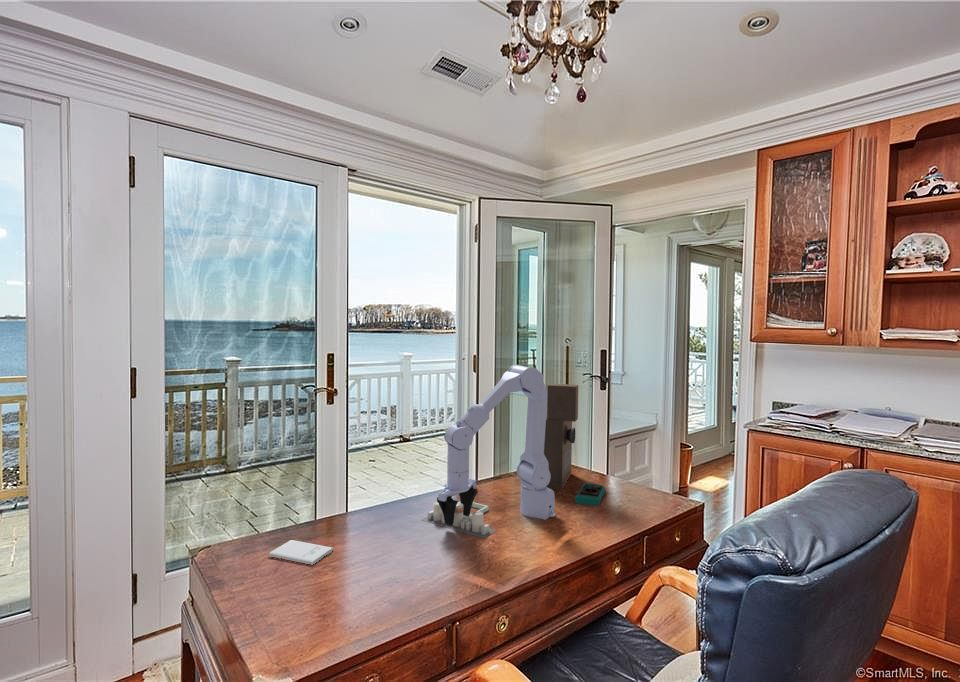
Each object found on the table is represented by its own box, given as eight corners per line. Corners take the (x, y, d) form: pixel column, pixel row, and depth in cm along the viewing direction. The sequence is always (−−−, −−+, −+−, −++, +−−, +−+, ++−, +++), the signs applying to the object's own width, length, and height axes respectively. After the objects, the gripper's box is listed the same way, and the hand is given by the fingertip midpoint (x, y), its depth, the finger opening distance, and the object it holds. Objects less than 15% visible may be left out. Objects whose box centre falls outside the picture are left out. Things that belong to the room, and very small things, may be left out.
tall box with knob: (573, 491, 170) (575, 386, 169) (532, 486, 175) (533, 384, 174) (582, 475, 188) (583, 380, 187) (544, 470, 193) (545, 378, 192)
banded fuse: (465, 524, 139) (465, 504, 138) (458, 528, 136) (459, 507, 136) (456, 521, 140) (456, 502, 140) (449, 525, 138) (449, 505, 137)
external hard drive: (291, 545, 129) (333, 553, 125) (268, 559, 121) (312, 568, 117) (291, 539, 129) (333, 546, 125) (268, 552, 121) (312, 561, 117)
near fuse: (485, 530, 135) (485, 513, 135) (479, 533, 132) (479, 516, 132) (475, 527, 137) (476, 510, 137) (469, 531, 134) (469, 514, 134)
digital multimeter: (605, 493, 170) (605, 484, 170) (598, 508, 156) (598, 498, 156) (583, 490, 173) (583, 481, 173) (574, 504, 159) (574, 495, 159)
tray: (488, 514, 149) (488, 506, 149) (471, 524, 142) (471, 515, 142) (463, 507, 154) (463, 499, 154) (445, 517, 147) (445, 508, 147)
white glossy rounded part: (446, 519, 142) (446, 503, 142) (439, 522, 140) (439, 506, 139) (437, 516, 144) (437, 501, 144) (430, 520, 141) (431, 504, 141)
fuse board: (496, 534, 135) (496, 523, 135) (484, 542, 130) (484, 531, 130) (434, 517, 146) (434, 507, 146) (420, 524, 141) (420, 513, 141)
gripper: (461, 461, 146) (461, 508, 146) (429, 474, 134) (429, 525, 134) (482, 465, 142) (481, 513, 142) (451, 478, 130) (450, 531, 130)
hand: (457, 519), depth 138 cm, fingers open, 7 cm apart
